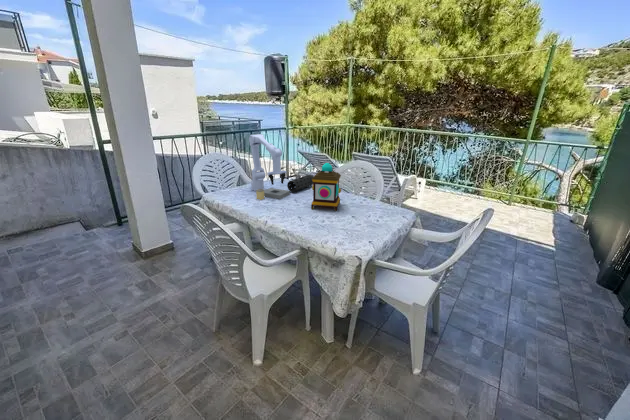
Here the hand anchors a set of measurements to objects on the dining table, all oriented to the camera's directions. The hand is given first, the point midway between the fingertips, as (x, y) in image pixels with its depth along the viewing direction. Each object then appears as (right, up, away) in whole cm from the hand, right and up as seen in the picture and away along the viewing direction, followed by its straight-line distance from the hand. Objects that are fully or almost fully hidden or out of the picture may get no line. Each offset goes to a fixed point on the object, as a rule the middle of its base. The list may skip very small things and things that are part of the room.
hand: (277, 183), depth 206 cm
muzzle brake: (+17, -2, +24) cm, 29 cm away
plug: (-12, -11, -2) cm, 17 cm away
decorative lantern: (+36, -17, -16) cm, 42 cm away
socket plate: (-3, -8, +7) cm, 11 cm away
